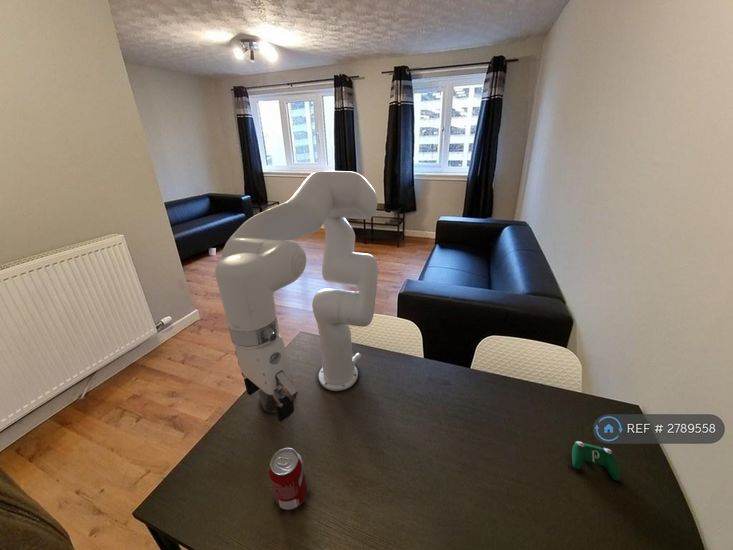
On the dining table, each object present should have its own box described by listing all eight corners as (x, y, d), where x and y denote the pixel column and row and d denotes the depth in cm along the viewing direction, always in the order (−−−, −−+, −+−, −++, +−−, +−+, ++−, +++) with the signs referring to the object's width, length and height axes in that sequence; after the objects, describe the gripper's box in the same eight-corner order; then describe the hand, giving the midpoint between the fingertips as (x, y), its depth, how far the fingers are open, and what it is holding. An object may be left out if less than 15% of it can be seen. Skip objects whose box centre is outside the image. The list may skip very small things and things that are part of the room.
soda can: (300, 515, 63) (293, 481, 58) (270, 508, 64) (260, 474, 59) (311, 481, 69) (306, 448, 64) (284, 475, 70) (276, 442, 65)
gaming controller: (613, 478, 70) (613, 449, 72) (622, 482, 67) (621, 452, 69) (568, 465, 73) (568, 438, 75) (574, 469, 70) (574, 440, 71)
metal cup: (280, 383, 96) (276, 361, 92) (299, 397, 91) (295, 375, 87) (255, 402, 89) (249, 379, 85) (274, 418, 84) (268, 395, 80)
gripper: (307, 336, 47) (316, 413, 55) (246, 302, 57) (261, 371, 65) (265, 362, 42) (282, 443, 50) (207, 319, 52) (227, 392, 59)
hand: (270, 402), depth 57 cm, fingers open, 9 cm apart
